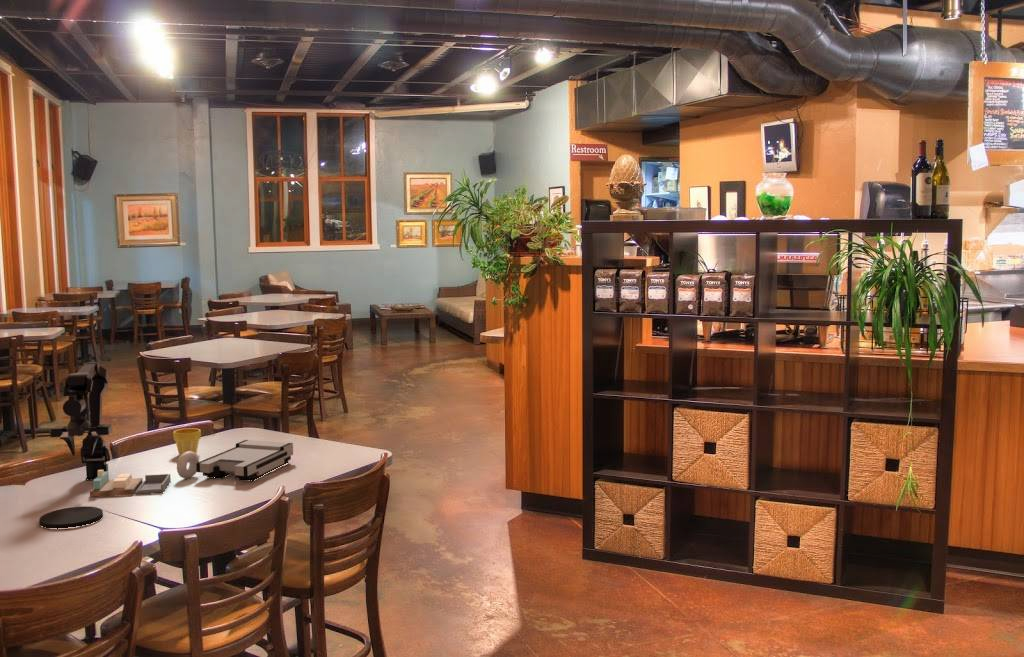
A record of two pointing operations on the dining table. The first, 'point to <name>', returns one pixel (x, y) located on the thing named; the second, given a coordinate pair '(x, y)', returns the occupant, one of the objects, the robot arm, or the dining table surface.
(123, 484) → the tile
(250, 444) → the game console
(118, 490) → the walnut board
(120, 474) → the tile
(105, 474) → the long mint beam
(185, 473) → the donut
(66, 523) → the wireless charger
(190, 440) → the plant pot
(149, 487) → the box
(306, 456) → the dining table surface
